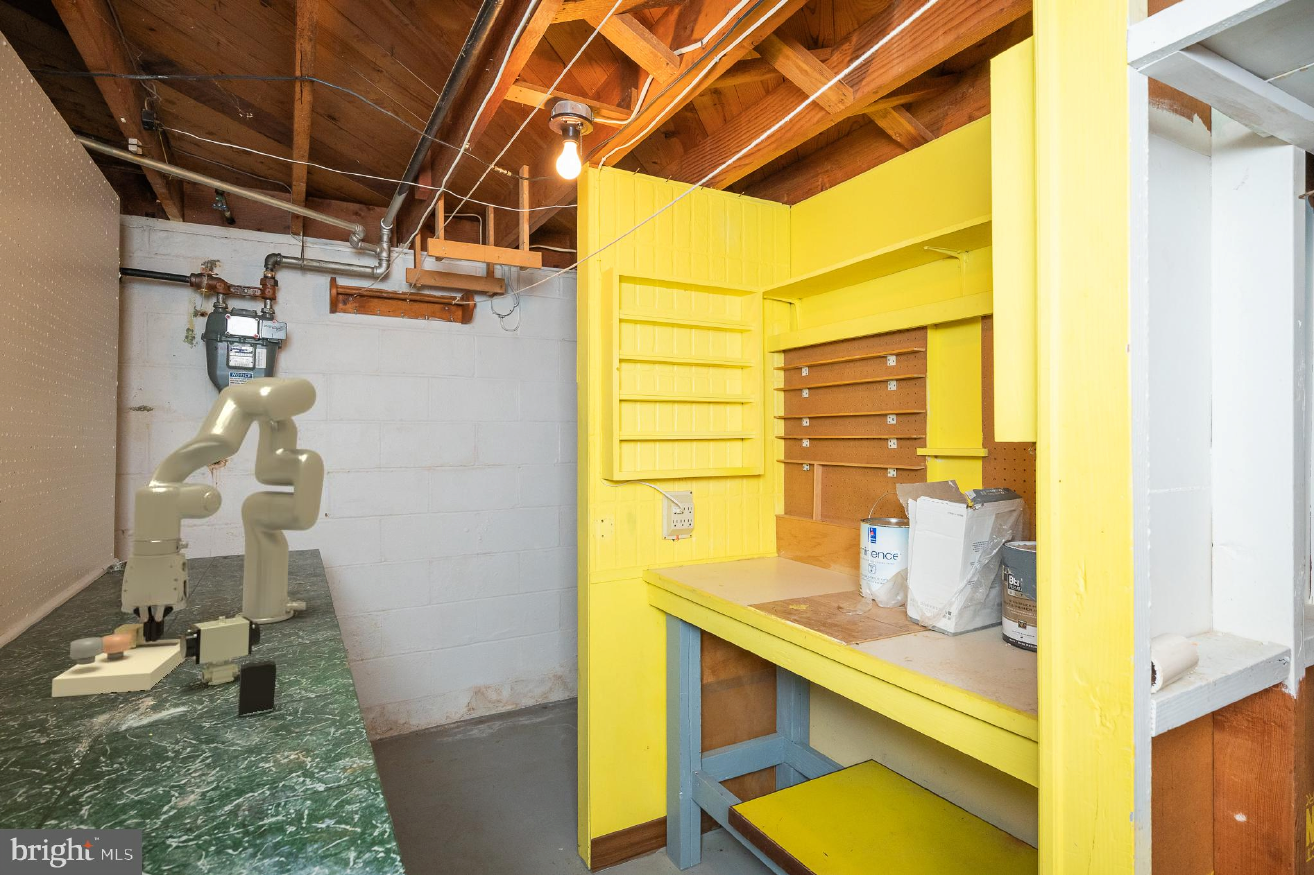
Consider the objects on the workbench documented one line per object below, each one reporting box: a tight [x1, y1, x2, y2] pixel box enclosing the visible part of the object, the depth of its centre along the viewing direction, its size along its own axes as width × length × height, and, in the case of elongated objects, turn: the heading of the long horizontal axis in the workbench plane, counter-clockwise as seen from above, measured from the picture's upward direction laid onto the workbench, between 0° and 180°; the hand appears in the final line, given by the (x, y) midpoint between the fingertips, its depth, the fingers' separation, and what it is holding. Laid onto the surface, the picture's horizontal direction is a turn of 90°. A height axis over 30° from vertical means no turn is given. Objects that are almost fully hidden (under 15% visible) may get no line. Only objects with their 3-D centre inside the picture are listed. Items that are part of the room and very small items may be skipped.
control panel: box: [51, 638, 188, 698], centre depth 125 cm, size 14×22×3 cm, turn 18°
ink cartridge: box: [237, 659, 277, 716], centre depth 109 cm, size 5×2×8 cm, turn 125°
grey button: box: [69, 636, 103, 665], centre depth 118 cm, size 4×4×4 cm
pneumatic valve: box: [179, 615, 261, 686], centre depth 122 cm, size 6×12×12 cm, turn 138°
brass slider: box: [113, 623, 146, 647], centre depth 131 cm, size 4×4×4 cm
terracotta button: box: [101, 633, 131, 659], centre depth 124 cm, size 4×4×4 cm
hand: (153, 640), depth 132 cm, fingers closed
